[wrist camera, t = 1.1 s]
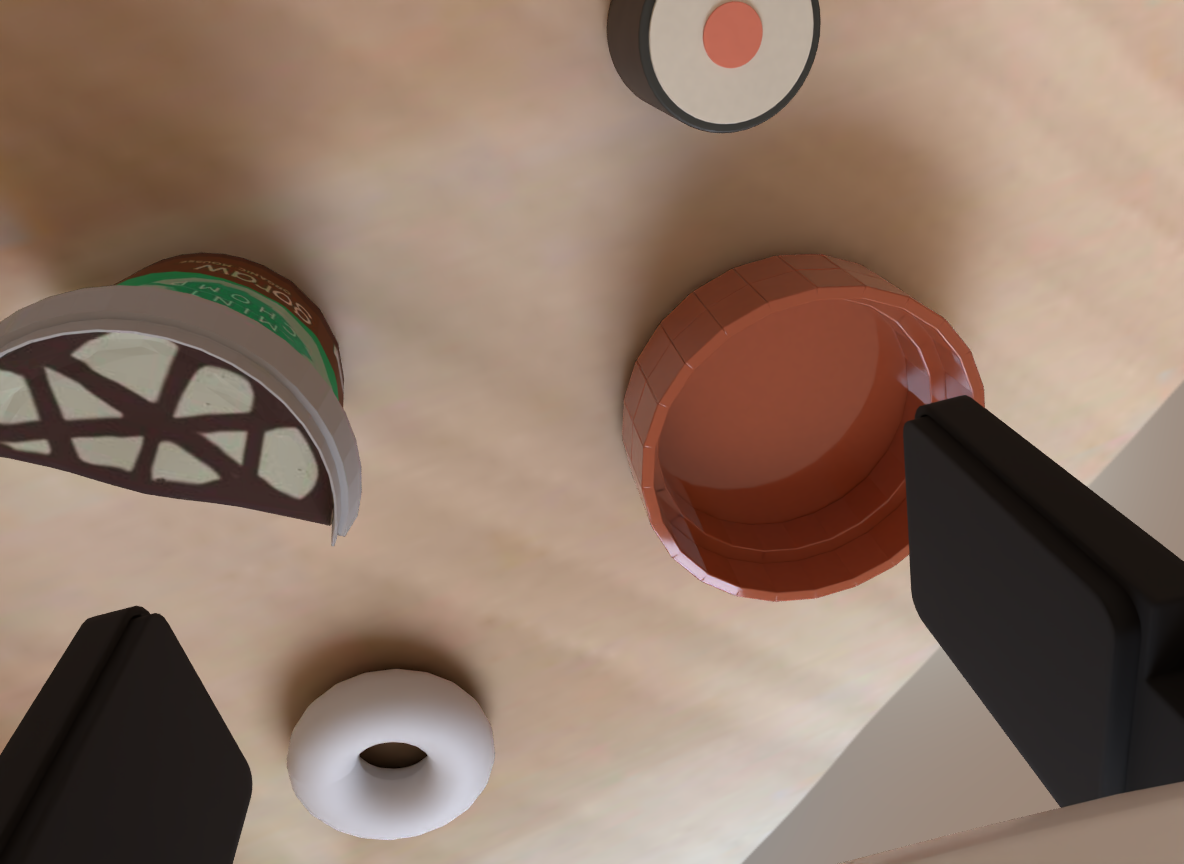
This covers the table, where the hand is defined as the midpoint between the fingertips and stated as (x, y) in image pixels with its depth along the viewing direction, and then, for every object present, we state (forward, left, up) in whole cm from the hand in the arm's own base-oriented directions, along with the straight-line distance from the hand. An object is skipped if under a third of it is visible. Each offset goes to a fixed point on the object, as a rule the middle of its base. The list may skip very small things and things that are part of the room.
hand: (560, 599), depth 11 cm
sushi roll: (-4, +8, -25) cm, 26 cm away
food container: (+1, -11, -25) cm, 27 cm away
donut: (+24, -13, -25) cm, 37 cm away
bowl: (+12, +9, -25) cm, 29 cm away
